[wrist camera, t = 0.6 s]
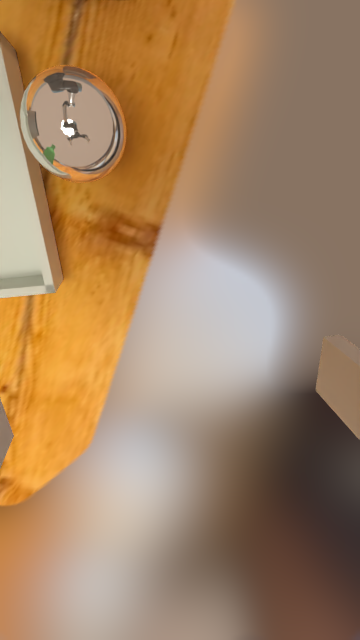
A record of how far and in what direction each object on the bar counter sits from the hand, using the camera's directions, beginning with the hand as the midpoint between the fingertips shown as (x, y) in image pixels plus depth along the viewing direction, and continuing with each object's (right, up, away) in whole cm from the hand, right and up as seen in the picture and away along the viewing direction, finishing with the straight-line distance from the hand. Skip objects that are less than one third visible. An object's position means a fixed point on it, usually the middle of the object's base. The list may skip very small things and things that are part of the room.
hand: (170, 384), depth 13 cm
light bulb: (-8, +19, +17) cm, 27 cm away
